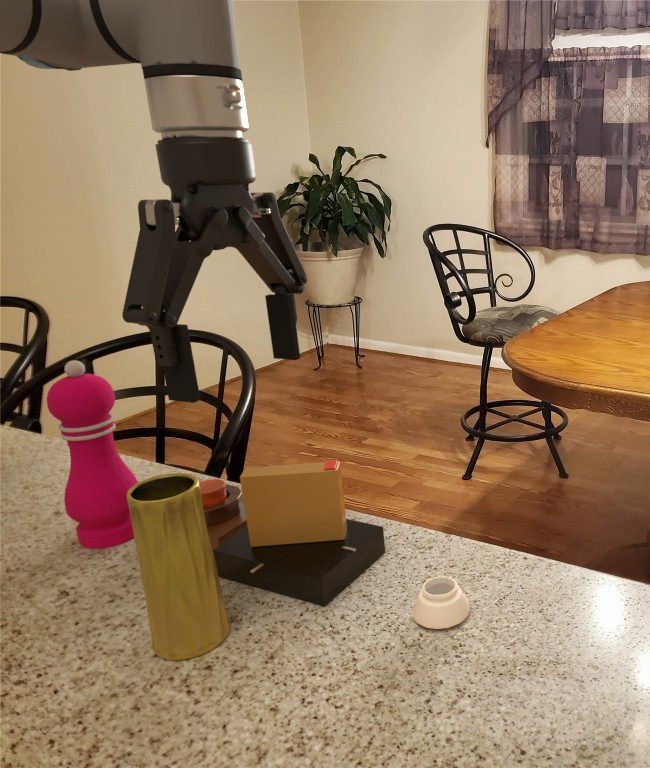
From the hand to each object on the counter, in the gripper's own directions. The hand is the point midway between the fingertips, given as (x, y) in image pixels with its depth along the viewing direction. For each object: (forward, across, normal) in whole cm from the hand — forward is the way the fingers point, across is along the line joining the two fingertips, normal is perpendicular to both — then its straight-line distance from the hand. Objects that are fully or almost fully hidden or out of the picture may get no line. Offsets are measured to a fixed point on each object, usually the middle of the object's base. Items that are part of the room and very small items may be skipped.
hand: (240, 377), depth 64 cm
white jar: (+20, -2, -21) cm, 29 cm away
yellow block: (+17, +1, -4) cm, 17 cm away
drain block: (+20, +3, +10) cm, 22 cm away
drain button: (+16, +3, +10) cm, 19 cm away
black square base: (+20, 0, -4) cm, 20 cm away
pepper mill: (+20, -1, +20) cm, 28 cm away
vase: (+20, -12, -2) cm, 23 cm away
